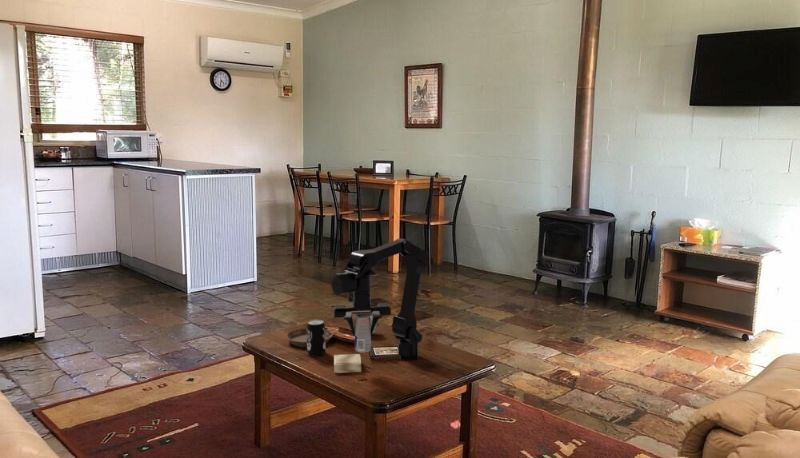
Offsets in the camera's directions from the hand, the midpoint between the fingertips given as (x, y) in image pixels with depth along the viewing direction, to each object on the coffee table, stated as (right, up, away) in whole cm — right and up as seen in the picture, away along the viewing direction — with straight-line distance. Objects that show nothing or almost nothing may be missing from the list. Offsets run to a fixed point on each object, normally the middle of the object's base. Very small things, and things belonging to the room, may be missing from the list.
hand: (362, 334), depth 209 cm
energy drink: (0, -5, +1) cm, 6 cm away
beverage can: (-18, -10, +20) cm, 29 cm away
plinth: (-6, -12, +6) cm, 15 cm away
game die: (0, -7, +40) cm, 41 cm away
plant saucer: (-22, -8, +33) cm, 41 cm away
